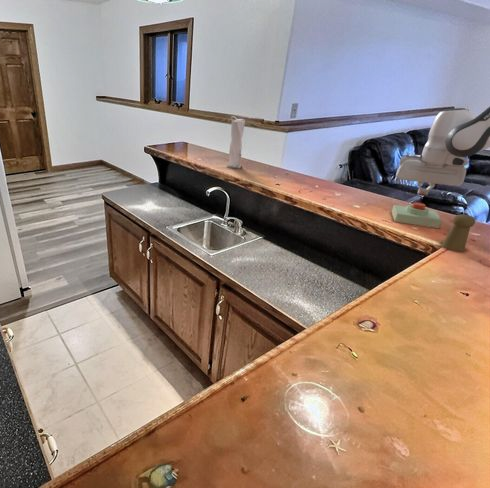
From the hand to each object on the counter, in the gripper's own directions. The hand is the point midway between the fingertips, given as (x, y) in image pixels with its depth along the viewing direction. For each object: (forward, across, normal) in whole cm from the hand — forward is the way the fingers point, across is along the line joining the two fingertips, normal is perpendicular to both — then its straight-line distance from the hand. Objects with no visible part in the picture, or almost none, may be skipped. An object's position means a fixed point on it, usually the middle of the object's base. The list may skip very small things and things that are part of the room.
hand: (422, 193), depth 130 cm
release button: (+6, 0, 0) cm, 6 cm away
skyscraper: (+12, -84, +49) cm, 98 cm away
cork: (+10, +8, -22) cm, 26 cm away
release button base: (+10, 0, 0) cm, 10 cm away
